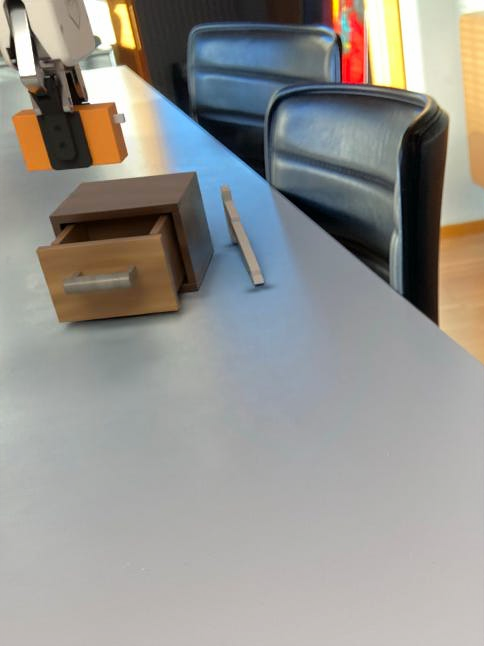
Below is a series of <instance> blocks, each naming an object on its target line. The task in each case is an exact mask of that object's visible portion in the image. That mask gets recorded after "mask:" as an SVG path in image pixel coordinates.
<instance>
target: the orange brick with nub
mask: <svg viewBox="0 0 484 646" xmlns="http://www.w3.org/2000/svg"><path fill="white" fill-rule="evenodd" d="M73 109H74V111H79V113H80V117H81V120H82V124H83V128H84V131H85V135H86V139H87V142H88V146H89V150H90V153H91V157H92V161H93V163H92V165H91V166H90V167H93V166H95V167H96V166H105V165H116V164H122V163H123V162H124V161H125V160H126V159H127V157H128V156H129V152H128V149H127V145H126V140H125V136H124V133H123V129H122V125H121V124H125V123H126V121H127V119H126V117H125V114H124V113H118V112H119V111H118V109H117V105H116V102H115V101H111V102H99V103H90V104H86V105H75V106H73ZM11 121H12V124H13V127H14V130H15V134H16V136H17V137H16V138H17V141H18V143H19V146H20V149H21V153H22V156H23V159H24V163H25V165H26V170H27V171H28V172H38V171H48V170H49V171H50V170H54V169H53V168H52V167H51V165H50V161H49V158H48V154H47V151H46V148H45V144H44V141H43V138H42V134H41V131H40V127H39V124H38V121H37V117H36V114H35V112H34V110H33V108H30V109H21V110H20V111H18V112H16V113H15V114H14V115H12V116H11Z"/></svg>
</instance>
